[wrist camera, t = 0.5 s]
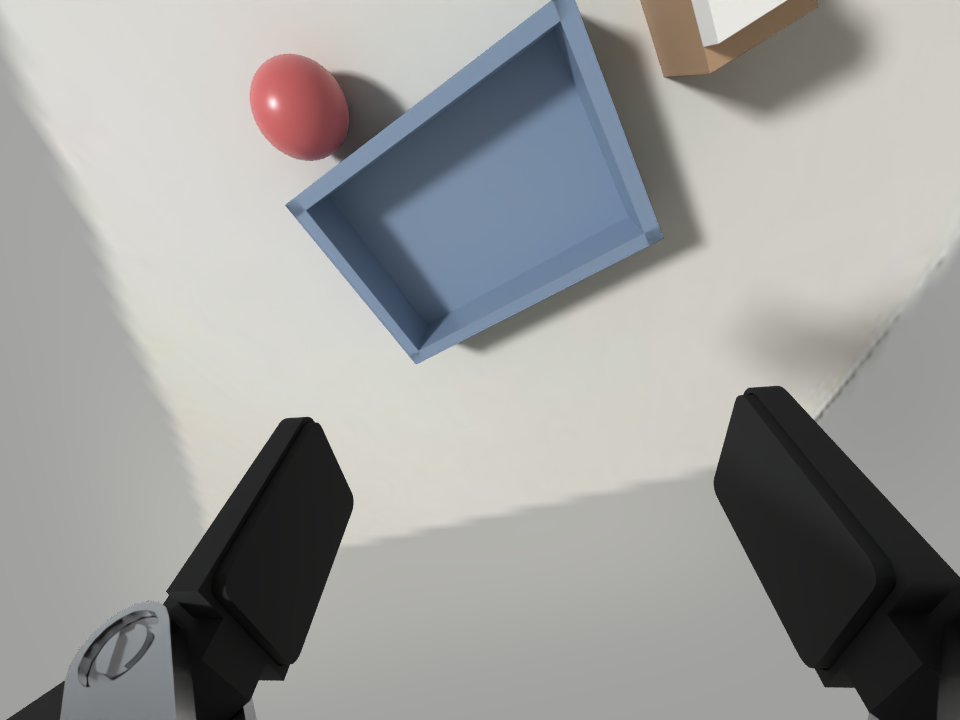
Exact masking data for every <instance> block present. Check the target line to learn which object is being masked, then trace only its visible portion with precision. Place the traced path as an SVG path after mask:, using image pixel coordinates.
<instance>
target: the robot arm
mask: <svg viewBox="0 0 960 720" xmlns="http://www.w3.org/2000/svg"><path fill="white" fill-rule="evenodd" d="M714 490H715V493H716V495H717V498H718V500H719V502H720V504H721V506H722V507H723V509H724V511H725V513H726V515H727V517H728V519H729V521H730V523H731V525H732V527H733V529H734V531H735V532H736V535H737V536H738V538H739V540H740V542H741V544H742V546H743V548H744V550H745V552H746V554H747V556H748V558H749V560H750V562H751V564H752V566H753V567H754V569H755V571H756V573H757V575H758V577H759V579H760V581H761V583H762V585H763V587H764V589H765V591H766V592H767V595H768V596H769V598H770V600H771V602H772V604H773V606H774V608H775V610H776V612H777V614H778V616H779V618H780V620H781V622H782V624H783V625H784V627H785V629H786V631H787V633H788V635H789V637H790V639H791V641H792V643H793V645H794V647H795V649H796V651H797V652H798V654H799V656H800V658H801V659H802V661H803V662H804V663H805V664H806V665H807V666H808V667H810V668H815V670H816V671H817V674H818V675H819V677H820V679H821V681H822V683H823V685H824V687H845V688H847V687H849V688H853V687H854V688H855V689H856V690H857V692H858V694H859V695H860V697H861V699H862V701H863V702H864V704H865V706H866V707H867V709H868V711H869V716H868V720H960V577H959V576H958V575H957V574H956V573H955V572H954V571H953V569H951V567H950V566H949V565H948V564H947V563H946V562H945V561H944V560H943V559H942V558H941V557H940V555H938V553H937V552H936V551H935V550H934V549H933V548H932V547H931V546H930V545H929V544H928V543H927V542H926V540H925V539H924V538H923V537H922V536H921V535H920V534H919V533H918V532H917V531H916V530H915V529H914V527H913V526H912V525H911V524H910V523H909V522H908V521H907V520H906V519H905V518H904V517H903V516H902V515H901V514H900V512H899V511H898V510H897V509H896V508H895V507H894V506H893V505H892V504H891V503H890V502H889V501H888V499H887V498H886V497H885V496H884V495H883V494H882V493H881V492H880V491H879V490H878V489H877V488H876V487H875V486H874V484H873V483H872V482H871V481H870V480H869V479H868V478H867V477H866V476H865V475H864V474H863V473H862V472H861V470H860V469H859V468H858V467H857V466H856V465H855V464H854V463H853V462H852V461H851V460H850V459H849V457H847V455H846V454H845V453H844V452H843V451H842V450H841V449H840V448H839V447H838V446H837V445H836V444H835V442H834V441H833V440H832V439H831V438H830V437H829V436H828V435H827V434H826V433H825V432H824V431H823V429H822V428H821V427H820V426H819V425H818V424H817V423H816V422H815V421H814V420H813V419H812V418H811V417H810V415H809V414H808V413H807V412H806V411H805V410H804V409H803V408H802V407H801V406H800V405H799V404H798V403H797V401H796V400H795V399H794V398H793V397H792V396H791V395H790V394H789V393H788V392H787V391H786V390H785V389H784V388H783V387H780V386H769V387H754V388H748V389H747V390H746V391H745V392H744V395H740V396H738V397H737V398H736V401H735V404H734V408H733V411H732V415H731V419H730V422H729V426H728V430H727V433H726V437H725V441H724V444H723V448H722V452H721V455H720V459H719V463H718V466H717V470H716V474H715V477H714ZM352 509H353V495H352V492H351V490H350V488H349V486H348V484H347V482H346V479H345V477H344V475H343V473H342V471H341V468H340V466H339V464H338V462H337V460H336V458H335V455H334V453H333V451H332V449H331V447H330V444H329V442H328V440H327V438H326V436H325V434H324V431H323V429H322V427H321V425H320V424H319V423H315V422H314V421H313V419H312V418H310V417H300V418H286V419H284V420H282V421H281V422H280V423H279V425H278V426H277V428H276V429H275V431H274V432H273V434H272V435H271V437H270V438H269V440H268V441H267V443H266V444H265V446H264V447H263V449H262V450H261V452H260V453H259V455H258V456H257V458H256V459H255V461H254V462H253V464H252V465H251V466H250V468H249V469H248V471H247V472H246V474H245V475H244V477H243V478H242V480H241V481H240V483H239V484H238V486H237V487H236V489H235V490H234V492H233V493H232V495H231V496H230V498H229V499H228V501H227V502H226V504H225V505H224V506H223V508H222V509H221V511H220V512H219V514H218V515H217V517H216V518H215V520H214V521H213V523H212V524H211V526H210V527H209V529H208V530H207V532H206V533H205V535H204V536H203V538H202V539H201V541H200V542H199V544H198V545H197V547H196V548H195V549H194V551H193V553H192V554H191V555H190V557H189V558H188V560H187V561H186V563H185V564H184V566H183V568H182V569H181V570H180V572H179V573H178V575H177V576H176V578H175V579H174V581H173V582H172V584H171V585H170V587H169V588H168V589H167V591H166V592H167V593H168V594H169V596H168V598H167V599H166V601H165V602H164V604H161V603H160V602H155V601H146V602H142V603H137V604H134V605H132V606H130V607H128V608H126V609H124V610H122V611H120V612H118V613H117V614H116V615H114V616H113V617H111V618H110V619H108V620H107V621H106V622H104V623H103V624H102V625H101V626H100V627H99V628H98V629H97V630H96V631H95V632H94V633H92V634H91V635H90V637H89V638H88V639H87V640H86V642H85V643H84V644H83V645H82V646H81V647H80V649H79V650H78V652H77V654H76V655H75V657H74V659H73V660H72V662H71V664H70V666H69V669H68V672H67V676H66V679H65V681H63V682H62V683H60V684H59V685H58V686H56V687H55V688H53V689H51V690H50V691H49V692H47V693H46V694H44V695H43V696H41V697H40V698H38V699H37V700H35V701H34V702H32V703H31V704H29V705H28V706H26V707H25V708H23V709H22V710H20V711H19V712H17V713H16V714H14V715H13V716H12V717H10V718H9V719H7V720H257V719H256V714H255V710H254V705H253V700H252V695H253V693H254V690H255V688H256V685H257V683H258V681H259V680H280V681H284V679H285V676H286V673H287V671H288V668H289V665H290V664H293V663H294V662H295V661H296V660H297V659H298V657H299V655H300V652H301V650H302V647H303V644H304V642H305V639H306V636H307V633H308V631H309V628H310V625H311V622H312V620H313V617H314V614H315V612H316V609H317V606H318V603H319V600H320V598H321V595H322V592H323V590H324V587H325V584H326V581H327V578H328V576H329V573H330V570H331V568H332V565H333V562H334V559H335V556H336V554H337V551H338V548H339V546H340V543H341V540H342V537H343V534H344V532H345V529H346V526H347V523H348V521H349V518H350V515H351V512H352Z"/></svg>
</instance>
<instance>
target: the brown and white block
mask: <svg viewBox="0 0 960 720" xmlns="http://www.w3.org/2000/svg"><path fill="white" fill-rule="evenodd" d="M640 1H641V4H642V8H643V11H644V14H645V17H646V20H647V24H648V27H649V30H650V33H651V37H652V40H653V43H654V46H655V50H656V53H657V56H658V59H659V63H660V66H661V69H662V72H663V76H664V77H669V76H683V75H697V74H710V73H712V72H713V71H715V70H717V69H718V68H720V67H722V66H723V65H725V64H726V63H728V62H730V61H731V60H733V59H735V58H736V57H738V56H739V55H741V54H743V53H744V52H746V51H747V50H749V49H751V48H752V47H754V46H756V45H757V44H759V43H760V42H762V41H764V40H765V39H767V38H769V37H770V36H772V35H773V34H775V33H777V32H778V31H780V30H781V29H783V28H785V27H786V26H788V25H790V24H791V23H793V22H794V21H796V20H798V19H799V18H801V17H803V16H804V15H806V14H807V13H809V12H811V11H812V10H814V9H815V8H817V7H818V5H817V0H640Z"/></svg>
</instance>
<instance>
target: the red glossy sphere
mask: <svg viewBox="0 0 960 720" xmlns="http://www.w3.org/2000/svg"><path fill="white" fill-rule="evenodd" d="M250 104H251V110H252V114H253V116H254V119H255V121H256V124H257V126H258V127H259V129H260V131H261V132H262V134H263V135H264V136H265V138H266V139H267V140H268V141H269V142H270V143H271V144H272V145H273V146H274V147H275V148H277V149H278V150H279V151H281V152H283V153H284V154H286V155H288V156H290V157H293V158H296V159H300V160H305V161H314V160H320V159H324V158H326V157H328V156H330V155H331V154H333V153H334V152H335V151H337V150H338V149H339V147H340V146H341V145H342V143H343V141H344V140H345V137H346V135H347V132H348V127H349V110H348V105H347V101H346V98H345V95H344V93H343V91H342V89H341V87H340V85H339V84H338V82H337V81H336V80H335V78H334V77H333V76H332V75H331V74H330V72H328V71H327V70H326V69H325V68H324V67H323V66H321V65H320V64H319V63H317V62H316V61H314V60H312V59H310V58H307V57H304V56H301V55H296V54H282V55H278V56H275V57H273V58H271V59H269V60H267V61H266V62H264V63H263V64H262V65H261V66H260V68H259V69H258V70H257V72H256V73H255V75H254V77H253V80H252V83H251V88H250Z"/></svg>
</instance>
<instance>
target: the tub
mask: <svg viewBox="0 0 960 720" xmlns="http://www.w3.org/2000/svg"><path fill="white" fill-rule="evenodd" d="M285 206H286V207H287V208H288V209H289V211H290V212H291V213H292V214H293V215H294V217H295V218H296V219H297V220H298V222H299V223H300V224H301V225H302V226H303V228H304V229H305V230H306V231H307V232H308V234H309V235H310V236H311V237H312V239H313V240H314V241H315V242H316V243H317V245H318V246H319V247H320V248H321V250H322V251H323V252H324V253H325V254H326V256H327V257H328V258H329V259H330V260H331V262H332V263H333V264H334V265H335V267H336V268H337V269H338V270H339V271H340V273H341V274H342V275H343V276H344V277H345V279H346V280H347V281H348V282H349V284H350V285H351V286H352V287H353V288H354V290H355V291H356V292H357V293H358V294H359V296H360V297H361V298H362V299H363V301H364V302H365V303H366V304H367V305H368V307H369V308H370V309H371V310H372V311H373V313H374V314H375V315H376V316H377V318H378V319H379V320H380V321H381V322H382V324H383V325H384V326H385V327H386V329H387V330H388V331H389V332H390V333H391V335H392V336H393V337H394V338H395V339H396V341H397V342H398V343H399V344H400V346H401V347H402V348H403V349H404V350H405V352H406V353H407V354H408V355H409V356H410V358H411V359H412V360H413V361H414V363H415V364H418V363H420V362H422V361H424V360H426V359H428V358H430V357H432V356H434V355H436V354H438V353H440V352H441V351H443V350H445V349H447V348H449V347H451V346H453V345H455V344H457V343H459V342H461V341H463V340H465V339H467V338H469V337H471V336H473V335H475V334H477V333H479V332H481V331H483V330H485V329H487V328H489V327H491V326H493V325H495V324H497V323H498V322H500V321H502V320H504V319H506V318H508V317H510V316H512V315H514V314H516V313H518V312H520V311H522V310H524V309H526V308H528V307H530V306H532V305H534V304H536V303H538V302H540V301H542V300H544V299H546V298H548V297H550V296H552V295H554V294H555V293H557V292H559V291H561V290H563V289H565V288H567V287H569V286H571V285H573V284H575V283H577V282H579V281H581V280H583V279H585V278H587V277H589V276H591V275H593V274H595V273H597V272H599V271H601V270H603V269H605V268H607V267H609V266H611V265H612V264H614V263H616V262H618V261H620V260H622V259H624V258H626V257H628V256H630V255H632V254H634V253H636V252H638V251H640V250H642V249H644V248H646V247H648V246H650V245H652V244H654V243H656V242H658V241H660V240H662V239H664V238H663V235H662V233H661V230H660V227H659V224H658V222H657V219H656V216H655V214H654V211H653V208H652V206H651V203H650V200H649V198H648V195H647V192H646V190H645V187H644V184H643V182H642V179H641V176H640V173H639V171H638V168H637V165H636V163H635V160H634V157H633V155H632V152H631V149H630V147H629V144H628V141H627V139H626V136H625V133H624V131H623V128H622V125H621V122H620V120H619V117H618V114H617V112H616V109H615V106H614V104H613V101H612V98H611V96H610V93H609V90H608V88H607V85H606V82H605V80H604V77H603V74H602V71H601V69H600V66H599V63H598V61H597V58H596V55H595V53H594V50H593V47H592V45H591V42H590V39H589V37H588V34H587V31H586V29H585V26H584V23H583V20H582V18H581V15H580V12H579V10H578V7H577V4H576V2H575V0H551V1H550V2H549V3H547V4H546V5H545V6H544V7H542V8H541V9H540V10H538V11H537V12H536V13H534V14H533V15H532V16H531V17H529V18H528V19H527V20H525V21H524V22H523V23H521V24H520V25H519V26H518V27H516V28H515V29H514V30H512V31H511V32H510V33H508V34H507V35H506V36H505V37H503V38H502V39H501V40H499V41H498V42H497V43H495V44H494V45H493V46H491V47H490V48H489V49H488V50H486V51H485V52H484V53H482V54H481V55H480V56H478V57H477V58H476V59H475V60H473V61H472V62H471V63H469V64H468V65H467V66H465V67H464V68H463V69H462V70H460V71H459V72H458V73H456V74H455V75H454V76H452V77H451V78H450V79H449V80H447V81H446V82H445V83H443V84H442V85H441V86H439V87H438V88H437V89H436V90H434V91H433V92H432V93H430V94H429V95H428V96H426V97H425V98H424V99H423V100H421V101H420V102H419V103H417V104H416V105H415V106H413V107H412V108H411V109H410V110H408V111H407V112H406V113H404V114H403V115H402V116H400V117H399V118H398V119H397V120H395V121H394V122H393V123H391V124H390V125H389V126H387V127H386V128H385V129H384V130H382V131H381V132H380V133H378V134H377V135H376V136H374V137H373V138H372V139H370V140H369V141H368V142H367V143H365V144H364V145H363V146H361V147H360V148H359V149H357V150H356V151H355V152H354V153H352V154H351V155H350V156H348V157H347V158H346V159H344V160H343V161H342V162H341V163H339V164H338V165H337V166H335V167H334V168H333V169H331V170H330V171H329V172H328V173H326V174H325V175H324V176H322V177H321V178H320V179H318V180H317V181H316V182H315V183H313V184H312V185H311V186H309V187H308V188H307V189H305V190H304V191H303V192H302V193H300V194H299V195H298V196H296V197H295V198H294V199H292V200H291V201H290V202H289V203H287V204H286V205H285Z"/></svg>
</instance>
